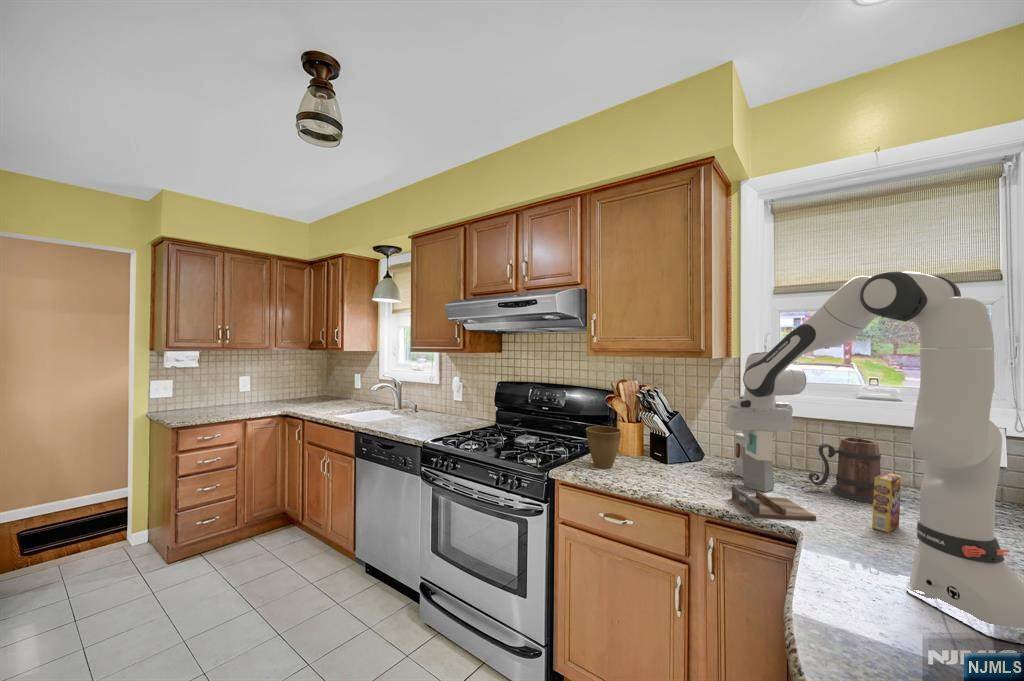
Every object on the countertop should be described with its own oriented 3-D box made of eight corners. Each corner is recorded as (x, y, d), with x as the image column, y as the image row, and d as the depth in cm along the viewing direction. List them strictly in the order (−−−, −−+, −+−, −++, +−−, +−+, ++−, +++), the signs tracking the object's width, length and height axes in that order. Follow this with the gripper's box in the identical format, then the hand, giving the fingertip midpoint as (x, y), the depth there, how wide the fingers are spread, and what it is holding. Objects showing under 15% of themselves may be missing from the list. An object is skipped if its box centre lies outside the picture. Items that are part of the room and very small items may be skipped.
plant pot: (600, 459, 194) (600, 424, 194) (627, 467, 183) (628, 430, 183) (578, 465, 185) (578, 428, 185) (605, 473, 173) (606, 434, 173)
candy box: (890, 533, 122) (891, 480, 122) (871, 528, 126) (872, 476, 126) (900, 527, 127) (901, 475, 127) (882, 521, 130) (883, 471, 131)
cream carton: (759, 454, 143) (759, 427, 143) (772, 460, 135) (772, 432, 135) (744, 453, 144) (745, 426, 144) (756, 459, 136) (757, 431, 136)
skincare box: (774, 490, 158) (775, 447, 158) (763, 493, 154) (764, 449, 154) (751, 483, 165) (751, 442, 165) (740, 486, 161) (741, 444, 161)
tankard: (875, 491, 159) (876, 437, 159) (899, 507, 143) (900, 447, 143) (802, 483, 166) (802, 432, 167) (817, 497, 150) (818, 441, 151)
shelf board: (816, 520, 130) (816, 505, 130) (754, 517, 131) (754, 503, 131) (785, 501, 146) (786, 488, 146) (730, 498, 147) (731, 486, 147)
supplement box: (732, 474, 176) (733, 433, 177) (747, 471, 180) (748, 432, 181) (754, 481, 168) (755, 438, 168) (769, 478, 172) (770, 436, 172)
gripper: (786, 401, 142) (785, 443, 142) (723, 399, 143) (722, 440, 143) (798, 404, 136) (797, 448, 136) (732, 402, 137) (731, 445, 137)
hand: (758, 444), depth 139 cm, fingers closed on cream carton, 5 cm apart
